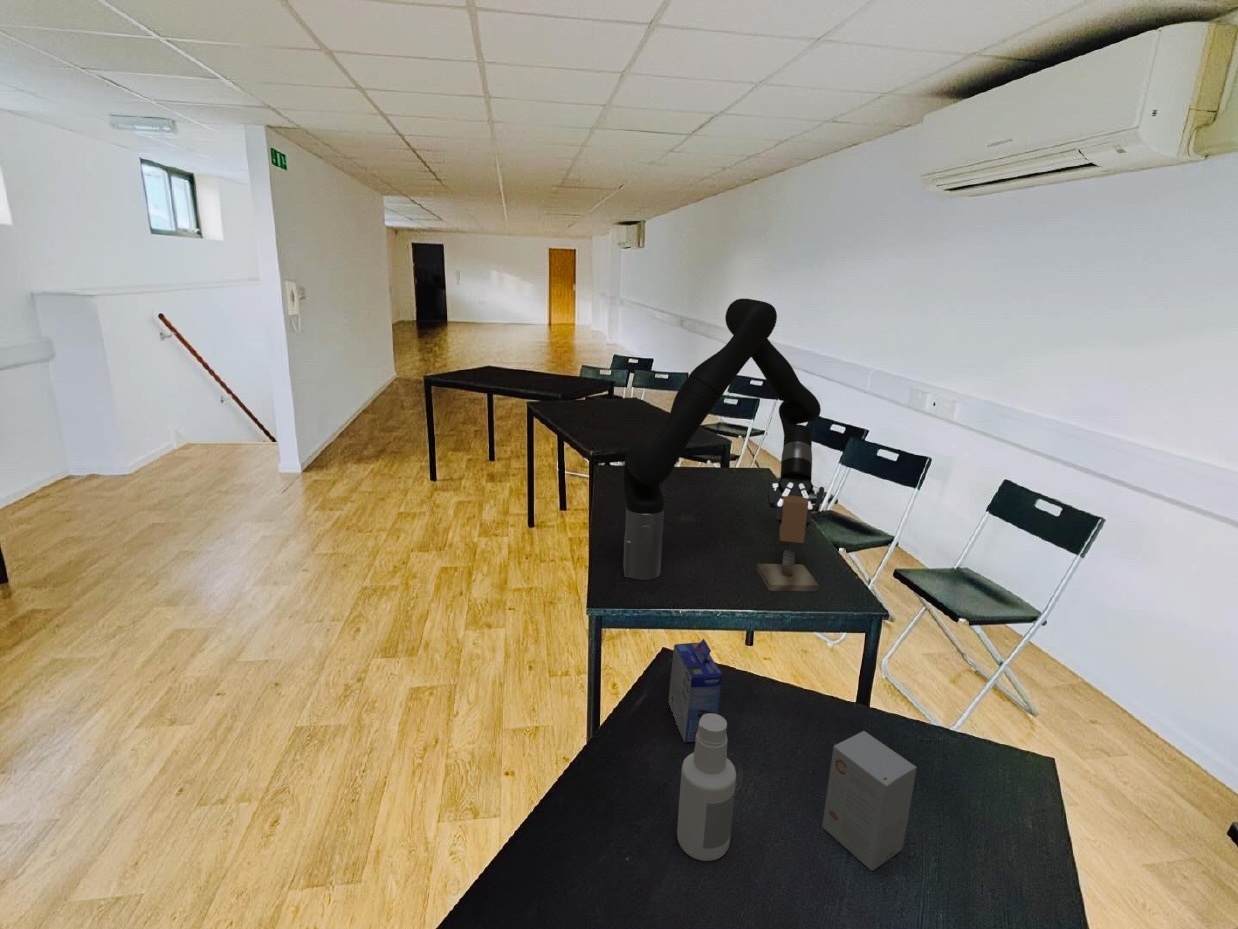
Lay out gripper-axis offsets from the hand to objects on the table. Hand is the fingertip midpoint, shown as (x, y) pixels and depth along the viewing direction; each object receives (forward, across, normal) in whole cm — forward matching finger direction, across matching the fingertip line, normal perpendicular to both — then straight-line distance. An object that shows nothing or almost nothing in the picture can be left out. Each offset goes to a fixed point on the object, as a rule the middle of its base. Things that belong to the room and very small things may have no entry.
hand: (793, 524), depth 152 cm
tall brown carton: (+2, 0, +4) cm, 5 cm away
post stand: (+10, 0, +12) cm, 16 cm away
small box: (+65, +7, -43) cm, 78 cm away
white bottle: (+69, -13, -47) cm, 84 cm away
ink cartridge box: (+52, -17, -31) cm, 63 cm away
